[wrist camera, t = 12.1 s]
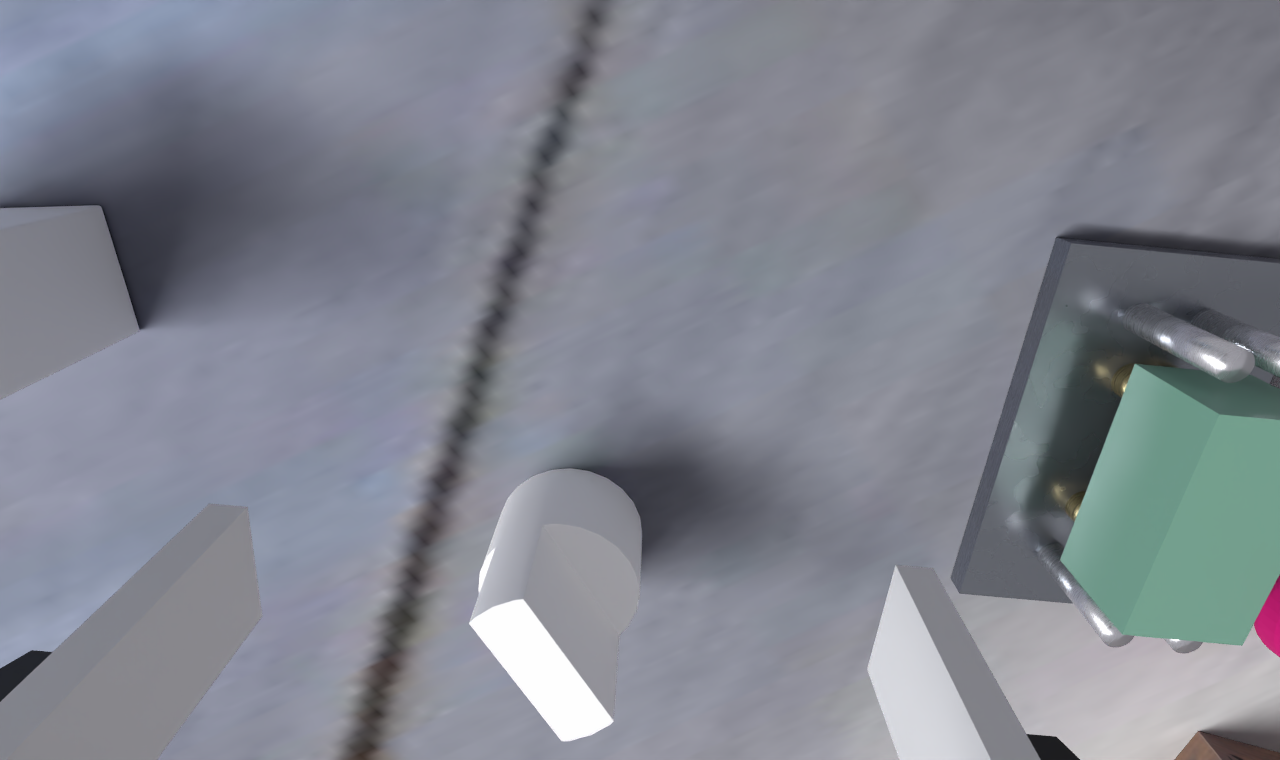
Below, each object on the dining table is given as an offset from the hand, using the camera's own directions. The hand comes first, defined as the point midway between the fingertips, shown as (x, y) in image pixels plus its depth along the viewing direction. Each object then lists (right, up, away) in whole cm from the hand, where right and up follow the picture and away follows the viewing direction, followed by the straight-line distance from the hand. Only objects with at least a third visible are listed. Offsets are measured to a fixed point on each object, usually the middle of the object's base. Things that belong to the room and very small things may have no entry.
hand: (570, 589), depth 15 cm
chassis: (+29, +1, +28) cm, 40 cm away
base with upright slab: (-3, -5, +31) cm, 32 cm away
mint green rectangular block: (+29, -1, +24) cm, 38 cm away
